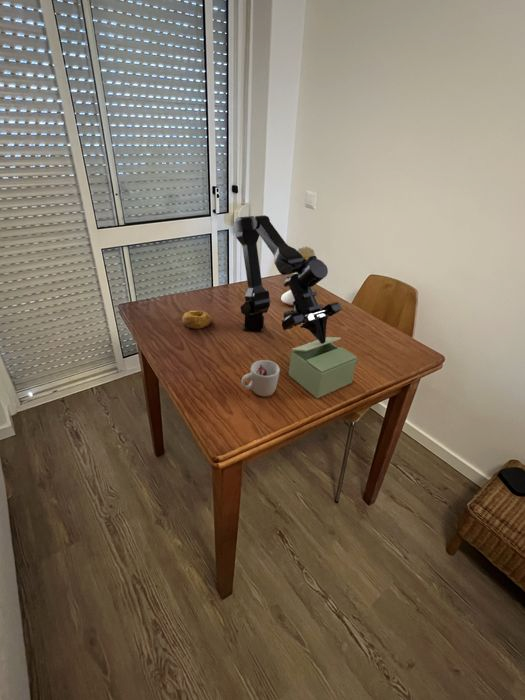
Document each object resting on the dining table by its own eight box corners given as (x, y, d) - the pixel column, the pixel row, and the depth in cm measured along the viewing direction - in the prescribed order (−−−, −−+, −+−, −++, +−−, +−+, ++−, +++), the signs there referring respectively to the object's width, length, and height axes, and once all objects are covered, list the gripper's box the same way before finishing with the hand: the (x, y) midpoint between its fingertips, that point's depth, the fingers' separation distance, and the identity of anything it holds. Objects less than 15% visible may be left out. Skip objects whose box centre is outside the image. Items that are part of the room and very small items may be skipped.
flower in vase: (275, 303, 151) (280, 244, 137) (289, 295, 159) (295, 239, 145) (302, 312, 145) (309, 251, 131) (314, 303, 153) (323, 245, 139)
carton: (288, 374, 107) (291, 349, 102) (322, 361, 114) (326, 337, 109) (317, 398, 98) (321, 371, 93) (351, 382, 105) (357, 357, 100)
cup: (246, 405, 94) (247, 381, 90) (236, 387, 100) (236, 364, 96) (282, 396, 98) (284, 373, 94) (270, 379, 104) (272, 357, 100)
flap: (291, 350, 102) (291, 348, 102) (326, 338, 109) (326, 337, 109) (305, 351, 97) (305, 350, 97) (341, 338, 104) (340, 337, 104)
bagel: (215, 326, 130) (215, 315, 127) (186, 332, 126) (185, 320, 123) (207, 315, 137) (206, 304, 135) (179, 320, 133) (178, 308, 130)
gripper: (311, 298, 113) (330, 342, 112) (264, 310, 104) (284, 359, 102) (332, 283, 104) (353, 331, 102) (282, 295, 95) (304, 348, 93)
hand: (323, 343), depth 100 cm, fingers closed
